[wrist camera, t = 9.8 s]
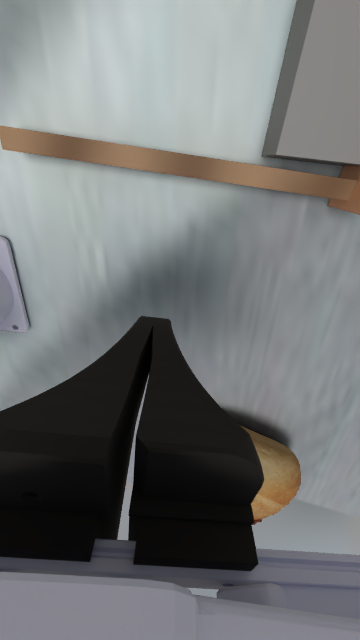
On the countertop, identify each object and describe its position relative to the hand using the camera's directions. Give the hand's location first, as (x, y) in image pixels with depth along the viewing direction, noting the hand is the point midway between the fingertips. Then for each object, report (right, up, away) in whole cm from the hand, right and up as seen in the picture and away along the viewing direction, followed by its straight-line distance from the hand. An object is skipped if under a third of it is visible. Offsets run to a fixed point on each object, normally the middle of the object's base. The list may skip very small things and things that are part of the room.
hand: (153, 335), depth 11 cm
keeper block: (+9, +13, +2) cm, 16 cm away
